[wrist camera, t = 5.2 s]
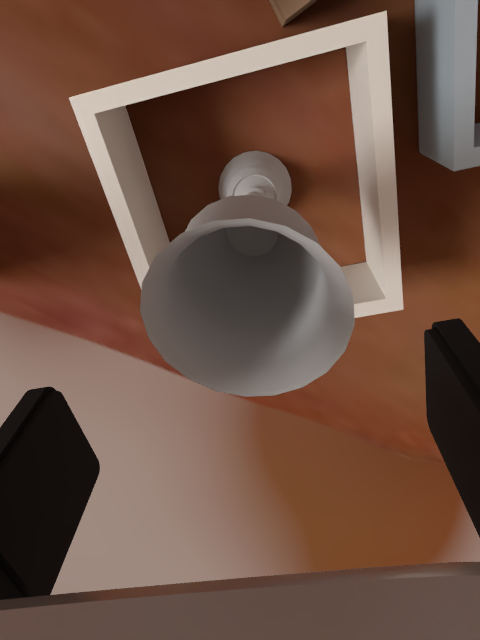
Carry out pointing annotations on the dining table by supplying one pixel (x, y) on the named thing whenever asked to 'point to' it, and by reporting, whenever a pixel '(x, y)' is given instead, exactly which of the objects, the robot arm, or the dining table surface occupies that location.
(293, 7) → the walnut block
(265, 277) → the chalice
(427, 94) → the frame
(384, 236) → the frame
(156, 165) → the dining table surface
